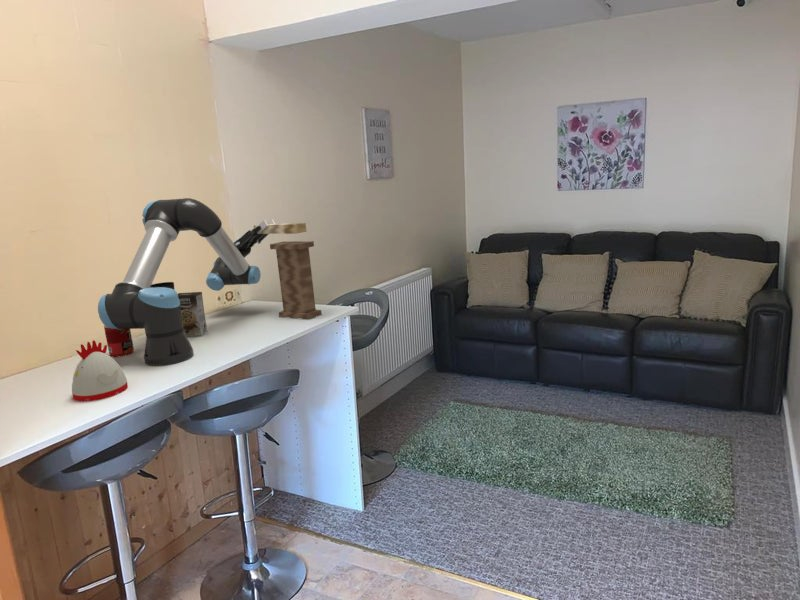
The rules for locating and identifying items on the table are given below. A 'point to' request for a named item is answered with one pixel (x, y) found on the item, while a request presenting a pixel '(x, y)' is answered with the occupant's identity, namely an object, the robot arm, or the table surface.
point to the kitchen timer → (97, 375)
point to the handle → (284, 228)
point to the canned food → (119, 341)
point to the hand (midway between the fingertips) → (269, 222)
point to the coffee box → (193, 314)
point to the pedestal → (296, 279)
